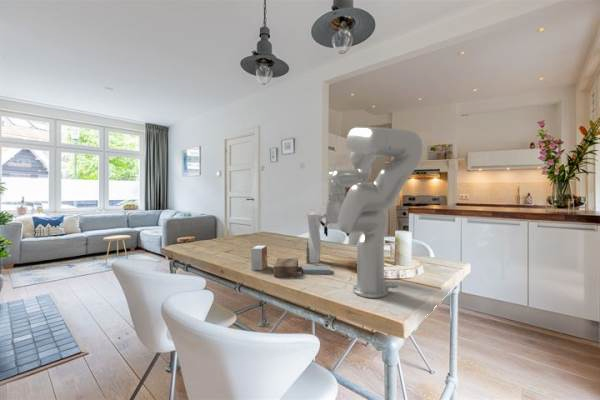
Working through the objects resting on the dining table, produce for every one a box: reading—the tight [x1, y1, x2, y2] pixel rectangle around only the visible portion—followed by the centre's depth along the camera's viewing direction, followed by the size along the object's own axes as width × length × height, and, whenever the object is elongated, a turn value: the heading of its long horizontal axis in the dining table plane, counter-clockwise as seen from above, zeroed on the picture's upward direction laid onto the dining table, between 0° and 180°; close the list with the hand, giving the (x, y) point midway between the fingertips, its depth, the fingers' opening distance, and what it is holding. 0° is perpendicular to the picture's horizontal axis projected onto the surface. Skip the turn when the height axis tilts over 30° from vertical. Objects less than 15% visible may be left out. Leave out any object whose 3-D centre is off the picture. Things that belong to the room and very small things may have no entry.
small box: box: [250, 244, 268, 271], centre depth 133 cm, size 8×6×10 cm
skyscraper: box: [305, 208, 322, 265], centre depth 143 cm, size 8×8×28 cm
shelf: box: [273, 258, 303, 278], centre depth 125 cm, size 12×14×5 cm
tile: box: [302, 265, 331, 275], centre depth 125 cm, size 12×6×2 cm, turn 84°
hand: (337, 235), depth 124 cm, fingers open, 9 cm apart
